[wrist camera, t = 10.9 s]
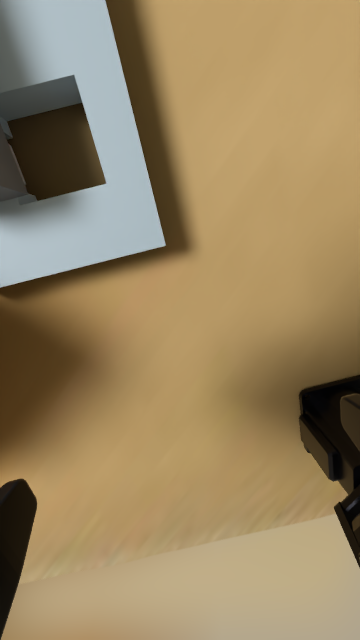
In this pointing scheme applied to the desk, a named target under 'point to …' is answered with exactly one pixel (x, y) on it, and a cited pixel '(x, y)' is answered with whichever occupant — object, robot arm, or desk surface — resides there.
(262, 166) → the desk surface
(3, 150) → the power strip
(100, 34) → the keyhole board
